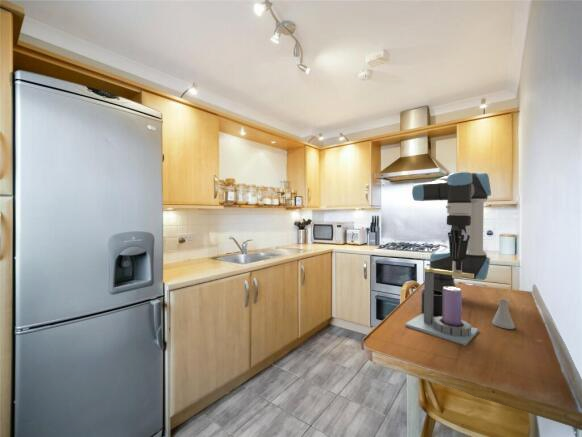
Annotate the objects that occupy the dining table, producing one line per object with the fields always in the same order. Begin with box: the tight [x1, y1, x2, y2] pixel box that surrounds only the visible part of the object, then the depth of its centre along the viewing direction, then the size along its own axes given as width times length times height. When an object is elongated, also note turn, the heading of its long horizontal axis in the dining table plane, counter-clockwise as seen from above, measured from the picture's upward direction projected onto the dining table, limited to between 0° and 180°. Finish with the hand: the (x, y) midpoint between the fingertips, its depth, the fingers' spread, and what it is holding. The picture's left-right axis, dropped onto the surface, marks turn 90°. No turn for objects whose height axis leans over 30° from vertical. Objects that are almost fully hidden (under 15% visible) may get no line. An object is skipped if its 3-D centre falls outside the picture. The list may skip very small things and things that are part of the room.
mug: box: [420, 289, 443, 317], centre depth 115 cm, size 9×12×9 cm
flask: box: [491, 298, 516, 330], centre depth 103 cm, size 7×7×10 cm
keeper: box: [423, 267, 474, 279], centre depth 98 cm, size 4×16×1 cm, turn 48°
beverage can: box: [442, 286, 463, 327], centre depth 96 cm, size 6×6×15 cm
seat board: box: [404, 272, 479, 346], centre depth 99 cm, size 16×20×20 cm
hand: (456, 278), depth 98 cm, fingers closed
